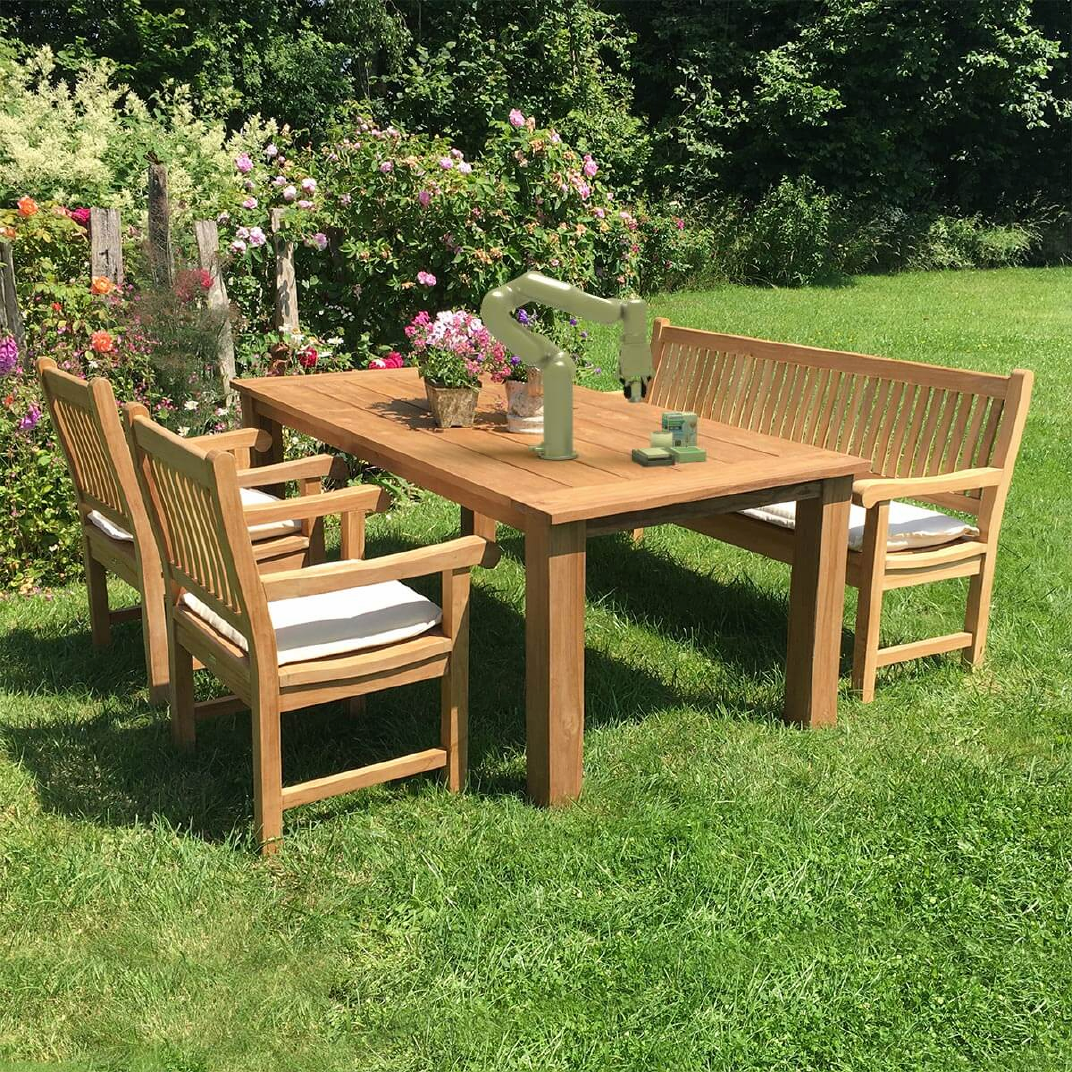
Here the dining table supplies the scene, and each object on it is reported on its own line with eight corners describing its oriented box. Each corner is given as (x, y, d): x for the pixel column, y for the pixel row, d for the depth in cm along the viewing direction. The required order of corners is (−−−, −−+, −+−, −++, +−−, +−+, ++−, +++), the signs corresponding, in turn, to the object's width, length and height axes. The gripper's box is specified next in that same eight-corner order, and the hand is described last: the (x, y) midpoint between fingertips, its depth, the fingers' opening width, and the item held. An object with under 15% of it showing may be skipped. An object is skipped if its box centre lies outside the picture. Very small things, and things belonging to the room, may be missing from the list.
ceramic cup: (654, 456, 384) (655, 434, 382) (647, 452, 391) (647, 430, 389) (675, 455, 386) (675, 433, 384) (667, 451, 393) (667, 429, 391)
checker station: (644, 467, 370) (644, 456, 369) (631, 459, 381) (631, 448, 380) (676, 464, 372) (676, 454, 371) (662, 457, 384) (662, 446, 383)
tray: (679, 462, 375) (679, 453, 374) (668, 457, 384) (669, 447, 383) (706, 461, 377) (706, 451, 377) (694, 455, 386) (695, 446, 385)
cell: (630, 403, 375) (630, 380, 373) (625, 401, 379) (625, 379, 377) (643, 402, 376) (643, 379, 374) (638, 400, 380) (638, 378, 378)
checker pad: (648, 458, 370) (648, 455, 370) (637, 451, 380) (637, 448, 379) (669, 456, 372) (669, 453, 372) (657, 450, 381) (657, 447, 381)
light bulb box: (667, 448, 398) (668, 415, 395) (660, 444, 404) (661, 412, 401) (697, 446, 401) (698, 414, 398) (689, 442, 407) (690, 410, 404)
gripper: (613, 342, 366) (613, 401, 371) (664, 339, 371) (664, 397, 376) (605, 339, 373) (605, 398, 378) (655, 336, 378) (655, 394, 383)
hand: (634, 397), depth 377 cm, fingers closed on cell, 4 cm apart
